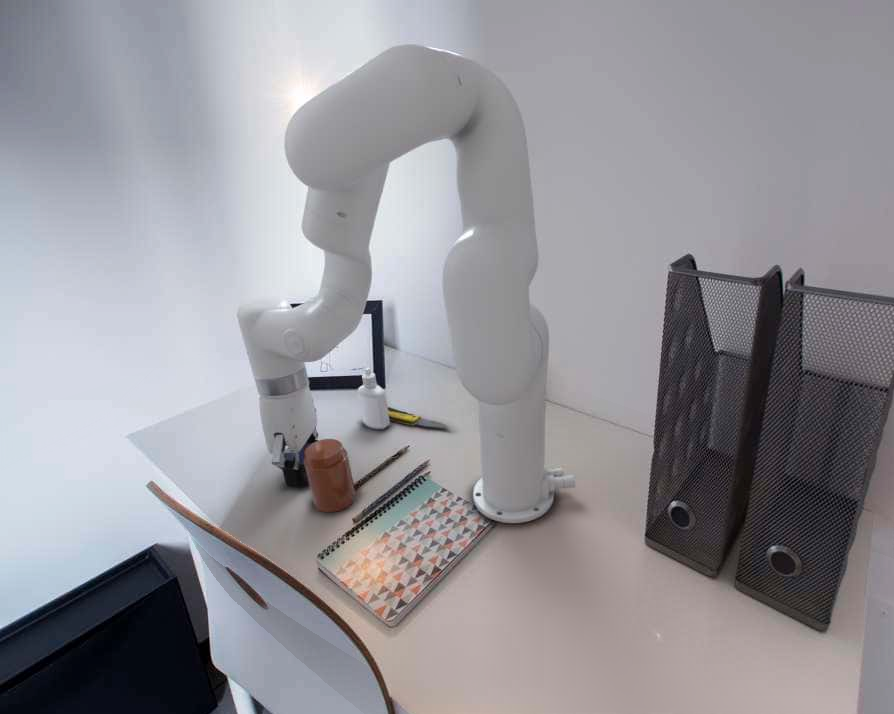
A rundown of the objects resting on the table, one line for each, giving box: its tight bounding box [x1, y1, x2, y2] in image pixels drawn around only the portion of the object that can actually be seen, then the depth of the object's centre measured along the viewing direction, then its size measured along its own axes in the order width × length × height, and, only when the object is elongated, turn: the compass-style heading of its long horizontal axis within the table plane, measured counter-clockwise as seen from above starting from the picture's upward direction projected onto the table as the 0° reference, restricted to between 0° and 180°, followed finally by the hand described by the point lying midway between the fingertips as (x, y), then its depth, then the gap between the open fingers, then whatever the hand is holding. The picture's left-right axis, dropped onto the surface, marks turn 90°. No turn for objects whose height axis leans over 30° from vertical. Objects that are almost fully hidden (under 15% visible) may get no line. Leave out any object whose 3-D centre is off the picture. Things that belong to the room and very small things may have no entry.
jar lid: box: [286, 443, 312, 475], centre depth 89 cm, size 7×7×2 cm
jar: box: [304, 438, 357, 513], centre depth 81 cm, size 6×6×10 cm
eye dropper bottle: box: [357, 367, 391, 430], centre depth 100 cm, size 4×6×12 cm
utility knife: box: [387, 406, 450, 429], centre depth 103 cm, size 16×1×3 cm
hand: (305, 471), depth 90 cm, fingers closed on jar lid, 6 cm apart
